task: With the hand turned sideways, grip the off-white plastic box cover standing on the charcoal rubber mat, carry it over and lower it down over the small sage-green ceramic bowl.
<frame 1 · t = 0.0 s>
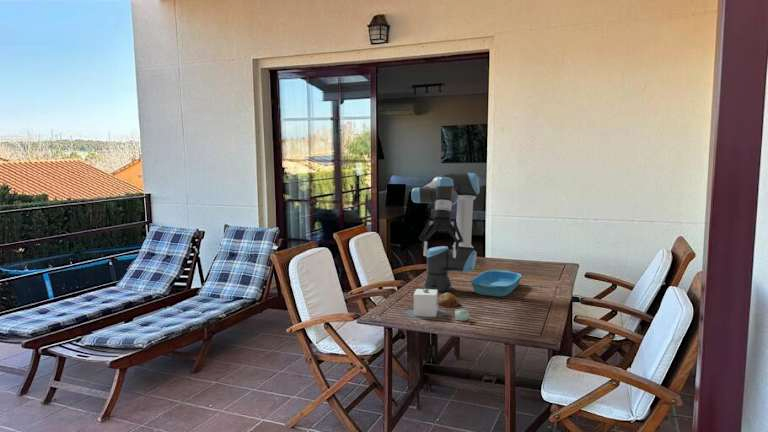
hand: (439, 256, 229), 28 cm above the table, tool tilted 20°, fingers open, 13 cm apart
box cover: (425, 313, 236), resting on rubber mat
bread roll: (448, 305, 251), on the table
bowl: (461, 320, 227), on the table
casserole dish: (496, 290, 279), on the table
rubber mat: (425, 314, 236), on the table
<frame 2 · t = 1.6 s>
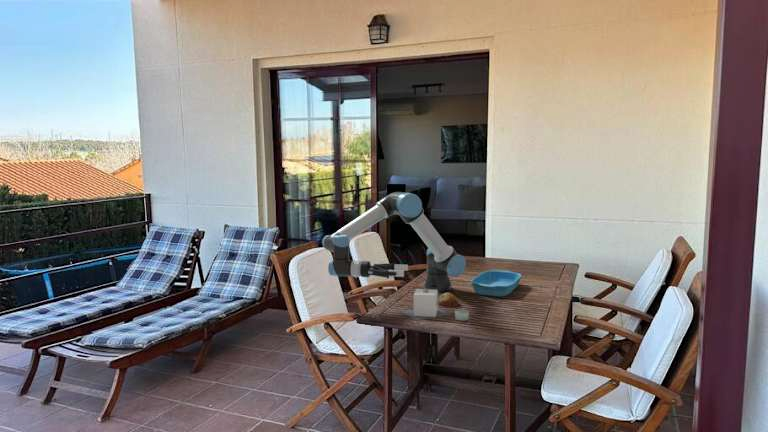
hand: (406, 270, 236), 20 cm above the table, tool horizontal, fingers open, 13 cm apart
nothing on the table moved.
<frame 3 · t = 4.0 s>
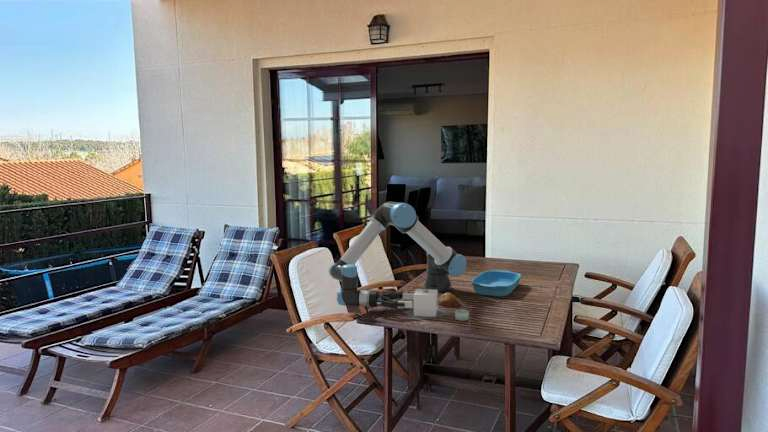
hand: (414, 300, 236), 6 cm above the table, tool horizontal, fingers open, 13 cm apart
nothing on the table moved.
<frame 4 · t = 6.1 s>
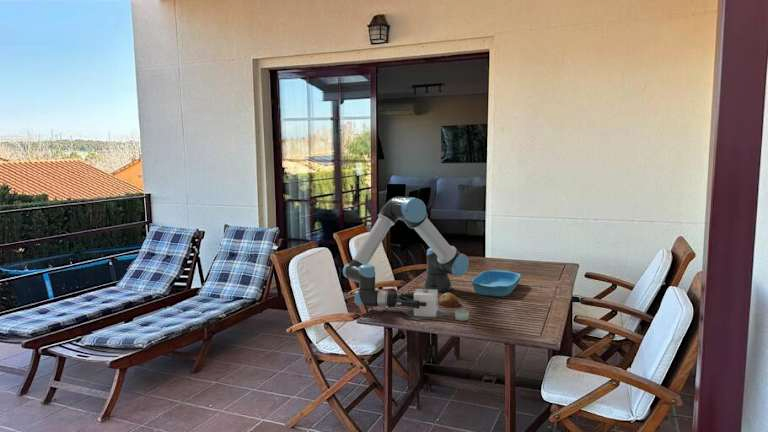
hand: (435, 300, 235), 6 cm above the table, tool horizontal, fingers closed on box cover, 10 cm apart
box cover: (425, 313, 236), point 1 cm above the table, touching gripper, rubber mat
everything else where it was.
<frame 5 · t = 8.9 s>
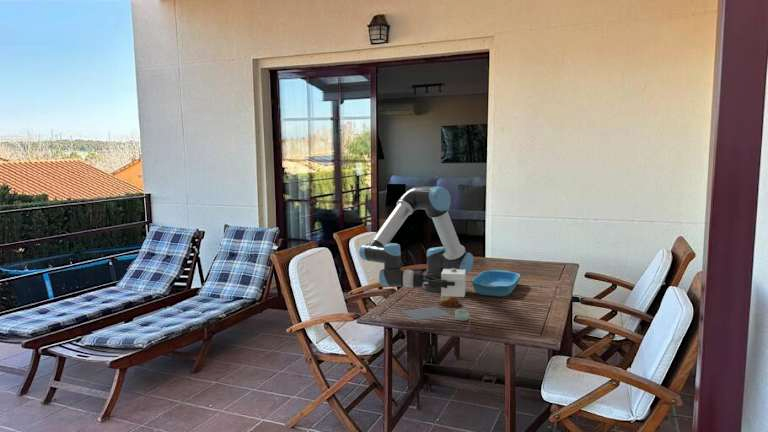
hand: (463, 280, 225), 18 cm above the table, tool horizontal, fingers closed on box cover, 10 cm apart
box cover: (453, 293, 226), point 12 cm above the table, touching gripper
everything else where it was.
when the fingers open (7 cm above the table, at t = 11.7 s): box cover drops 1 cm, on the table.
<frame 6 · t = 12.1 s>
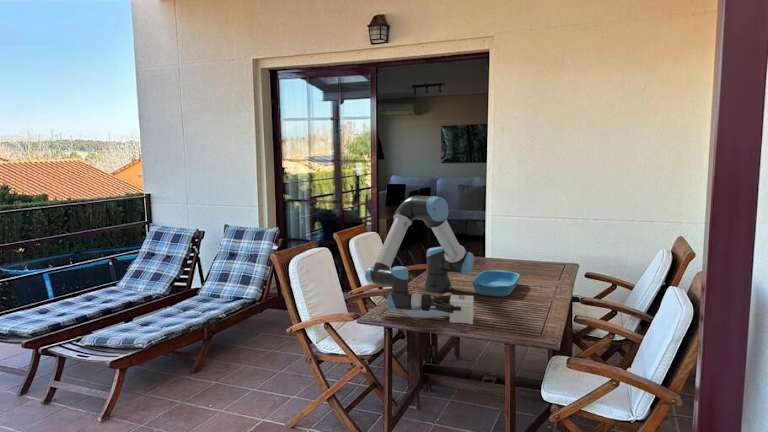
hand: (469, 304, 225), 7 cm above the table, tool horizontal, fingers open, 13 cm apart
box cover: (461, 320, 227), on the table
everything else where it was.
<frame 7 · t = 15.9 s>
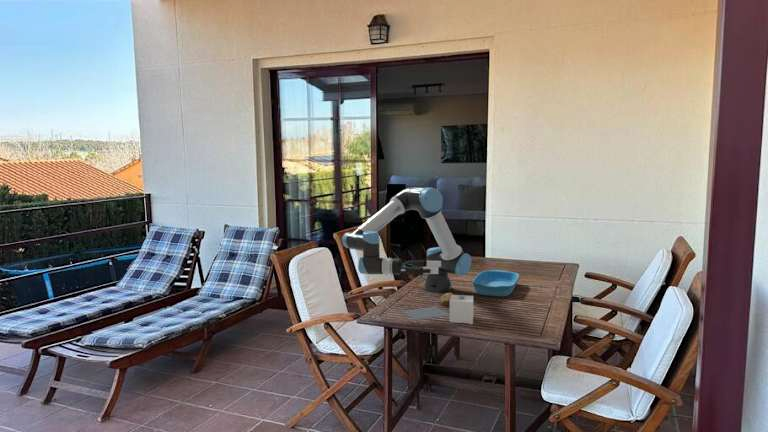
hand: (439, 267, 226), 24 cm above the table, tool horizontal, fingers open, 13 cm apart
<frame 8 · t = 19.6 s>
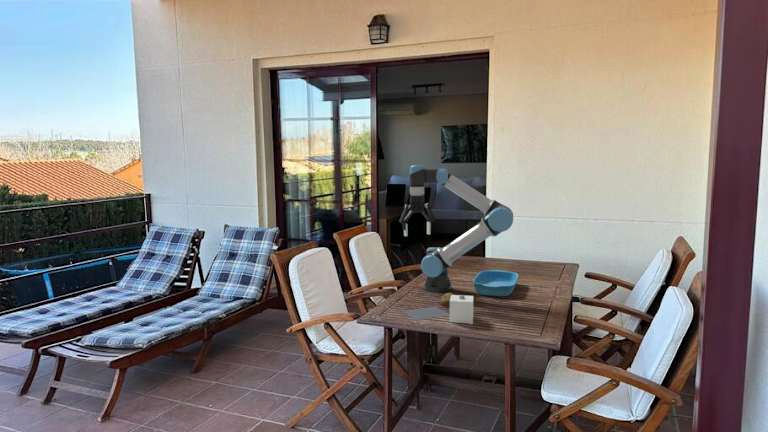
hand: (417, 235, 268), 32 cm above the table, tool pointing down, fingers open, 13 cm apart
at the end: box cover 0.1 cm from the bowl (horizontally); box cover on the table; box cover tilted 0° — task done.
